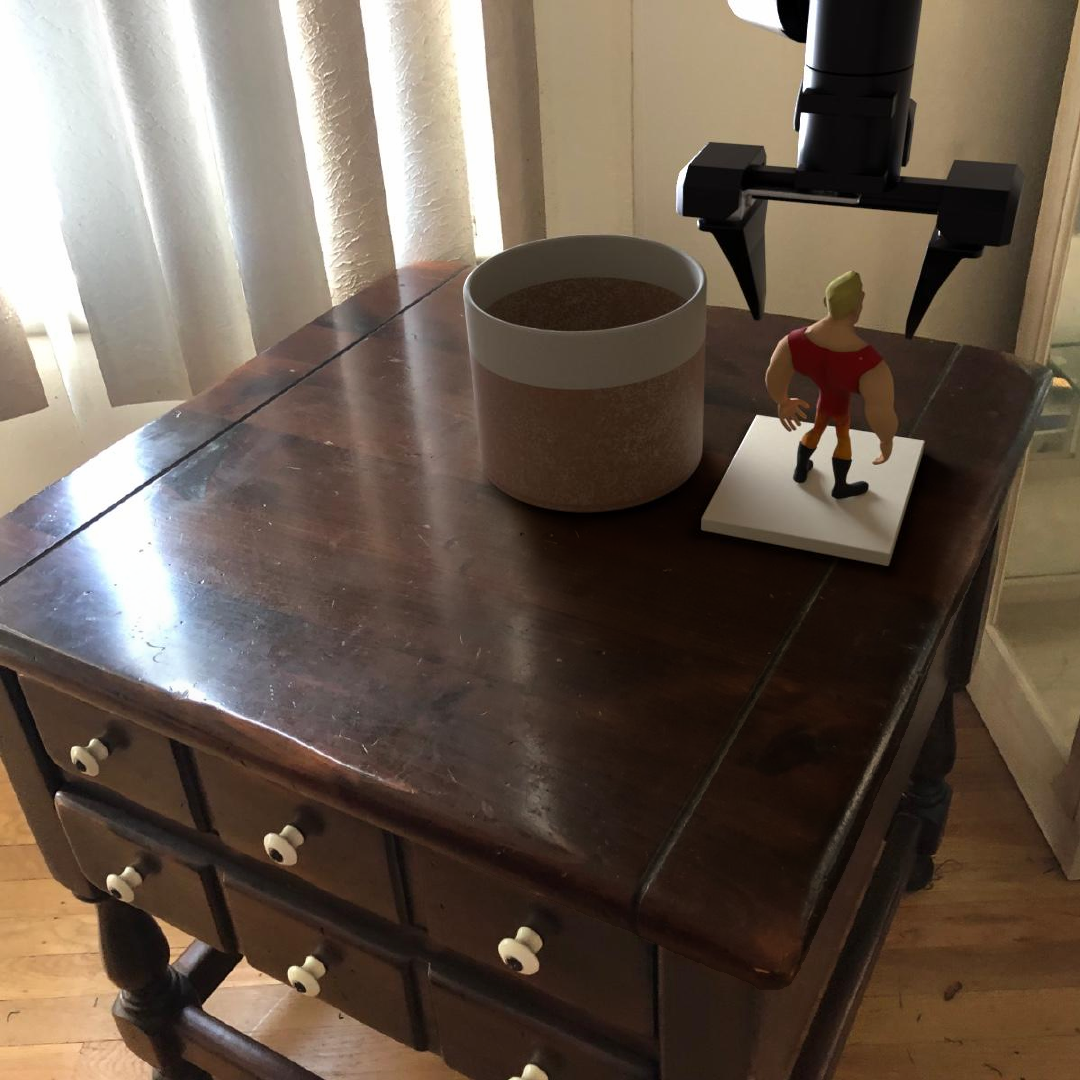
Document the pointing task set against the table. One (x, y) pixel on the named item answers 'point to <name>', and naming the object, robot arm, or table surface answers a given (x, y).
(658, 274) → the planter
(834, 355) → the action figure
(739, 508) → the display board
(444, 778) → the table surface
